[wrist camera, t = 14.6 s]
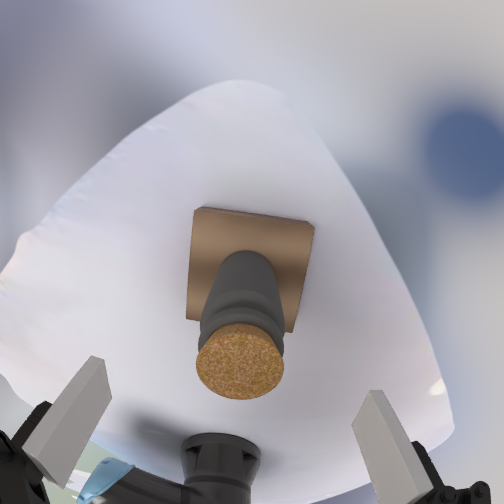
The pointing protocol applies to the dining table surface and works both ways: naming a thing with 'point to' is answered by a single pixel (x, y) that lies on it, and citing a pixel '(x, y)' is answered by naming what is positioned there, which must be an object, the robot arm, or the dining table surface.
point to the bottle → (242, 329)
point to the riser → (254, 239)
